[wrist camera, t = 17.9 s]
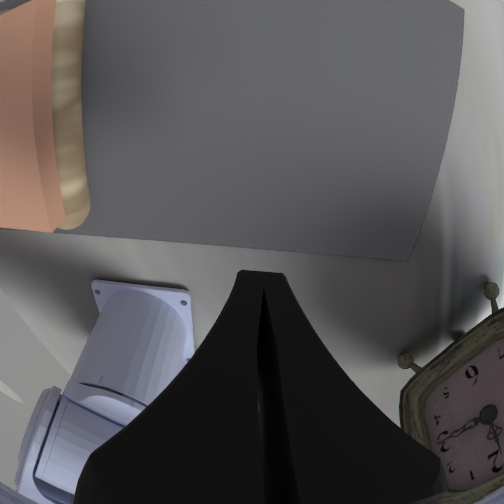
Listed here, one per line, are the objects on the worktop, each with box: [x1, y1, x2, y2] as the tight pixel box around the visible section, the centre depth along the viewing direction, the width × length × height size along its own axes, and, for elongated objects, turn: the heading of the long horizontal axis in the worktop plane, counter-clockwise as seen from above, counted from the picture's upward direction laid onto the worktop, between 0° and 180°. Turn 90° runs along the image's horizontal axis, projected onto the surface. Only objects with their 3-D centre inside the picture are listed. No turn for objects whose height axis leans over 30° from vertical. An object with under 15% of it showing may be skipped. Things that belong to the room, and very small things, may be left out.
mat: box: [0, 0, 464, 261], centre depth 14 cm, size 18×40×1 cm, turn 85°
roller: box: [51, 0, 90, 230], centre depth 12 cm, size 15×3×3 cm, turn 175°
